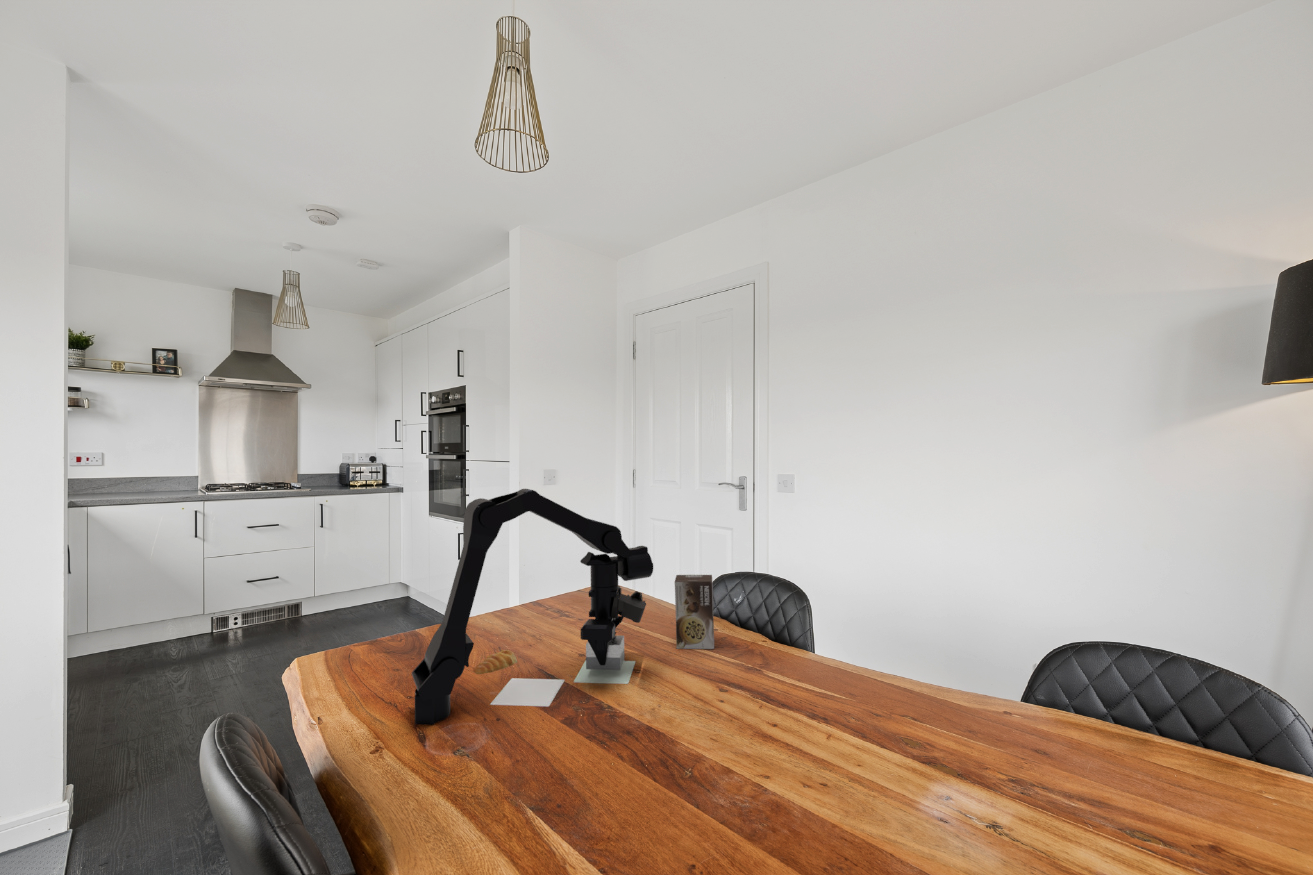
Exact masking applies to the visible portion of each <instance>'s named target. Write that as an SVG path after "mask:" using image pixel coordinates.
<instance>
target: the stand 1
mask: <svg viewBox="0 0 1313 875" xmlns="http://www.w3.org/2000/svg"><path fill="white" fill-rule="evenodd" d="M564 682H565V679H559V678H558V679H555V678H551V679H550V678H516V677H515V678H513V677H511V679H510V680H509V681H508V682H507V683H506V685H504V687H503V688H502V690H500V692H498V694H497V695H496V697H495V698H494V699H493V700H492V701H491V703H490V704H489V705H491V706H514V707H515V706H516V707H517V706H519V707H524V706H525V707H546V708H548V707H550V705H551V704H552V702H553V700H554V699H555V697H556V696H557V693H558V692H559V691H560V689H561V687H562V686H563V684H564Z"/></svg>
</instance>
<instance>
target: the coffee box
mask: <svg viewBox="0 0 1313 875" xmlns="http://www.w3.org/2000/svg"><path fill="white" fill-rule="evenodd" d="M713 588H714V587H713V575H712V574H677V575H676V576H675V579H674V600H675V602H674V603H675V605H674V606H675V633H676V635H675V638H676V639H675V640H676V642H675V644H676V647H675V648H676V649H677V650H679V649H680V650H681V649H684V650H688V649H689V650H690V649H691V650H695V649H696V650H715V626H714V625H715V624H714V620H715V618H714V594H713V593H714V590H713Z"/></svg>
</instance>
